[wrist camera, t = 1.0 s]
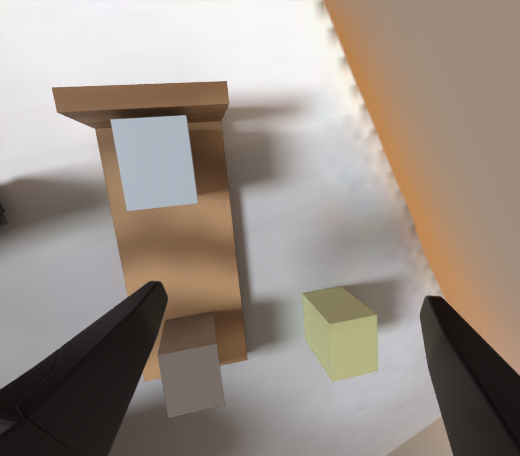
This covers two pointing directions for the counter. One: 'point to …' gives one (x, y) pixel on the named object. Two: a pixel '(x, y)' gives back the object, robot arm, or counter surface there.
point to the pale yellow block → (341, 332)
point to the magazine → (2, 216)
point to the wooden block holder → (173, 207)
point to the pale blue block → (155, 161)
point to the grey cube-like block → (190, 364)
